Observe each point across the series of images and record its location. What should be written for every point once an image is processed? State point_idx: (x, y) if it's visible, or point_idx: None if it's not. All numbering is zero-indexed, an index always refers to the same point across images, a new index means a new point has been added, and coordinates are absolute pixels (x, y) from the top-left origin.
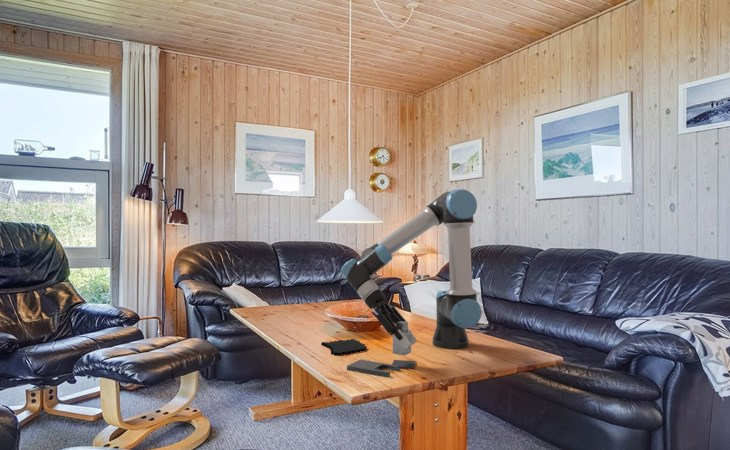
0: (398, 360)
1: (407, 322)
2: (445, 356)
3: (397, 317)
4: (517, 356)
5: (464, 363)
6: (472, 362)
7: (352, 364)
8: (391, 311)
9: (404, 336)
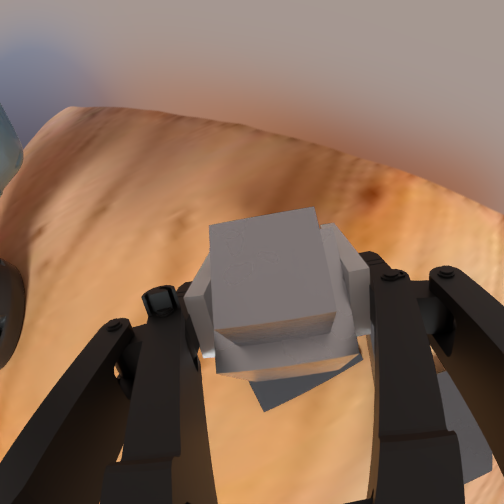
0: (260, 387)
1: (225, 223)
2: (94, 267)
3: (169, 384)
4: (58, 144)
5: (145, 183)
6: (127, 175)
7: (469, 472)
8: (178, 494)
9: (344, 241)
